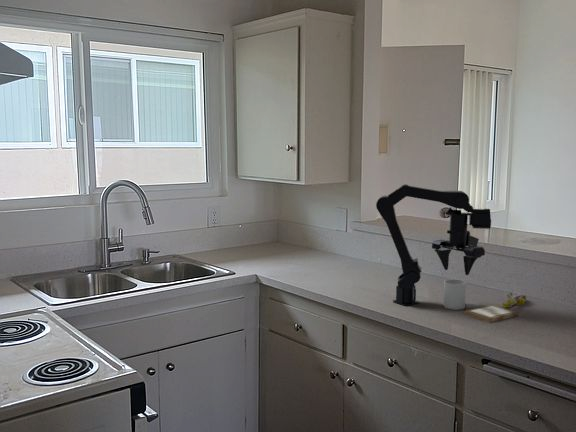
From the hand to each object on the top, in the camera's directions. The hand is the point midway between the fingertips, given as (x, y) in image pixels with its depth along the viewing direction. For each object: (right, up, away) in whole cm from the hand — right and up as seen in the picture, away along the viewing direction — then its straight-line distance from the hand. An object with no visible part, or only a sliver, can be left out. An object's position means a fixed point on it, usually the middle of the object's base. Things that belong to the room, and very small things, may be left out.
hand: (456, 272), depth 198 cm
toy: (+22, -12, +4) cm, 25 cm away
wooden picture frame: (+9, -13, -9) cm, 18 cm away
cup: (0, -12, +1) cm, 12 cm away
